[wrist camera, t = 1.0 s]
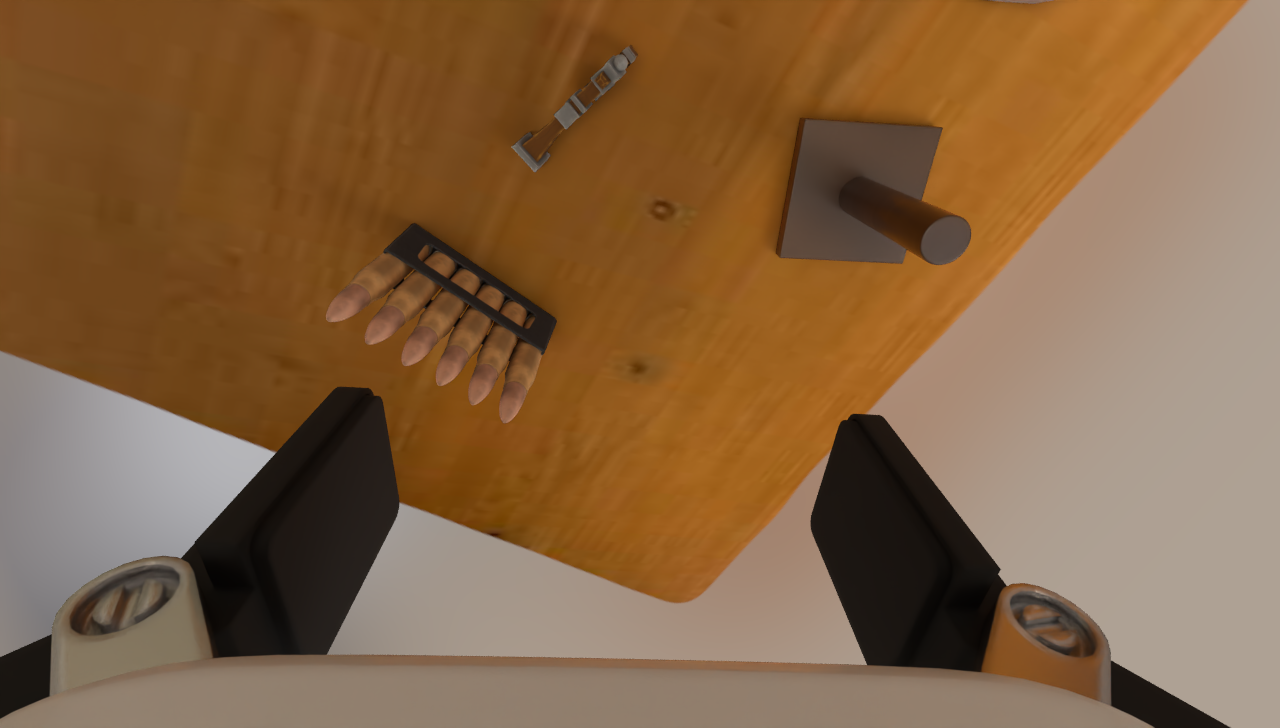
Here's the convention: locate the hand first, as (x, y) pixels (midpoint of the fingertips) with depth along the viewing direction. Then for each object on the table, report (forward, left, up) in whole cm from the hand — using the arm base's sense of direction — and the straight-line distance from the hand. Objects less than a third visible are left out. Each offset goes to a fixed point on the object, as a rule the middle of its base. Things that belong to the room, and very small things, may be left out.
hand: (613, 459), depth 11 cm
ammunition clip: (+6, -9, -25) cm, 27 cm away
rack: (-1, +14, -25) cm, 29 cm away
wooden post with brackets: (-5, -3, -25) cm, 26 cm away
